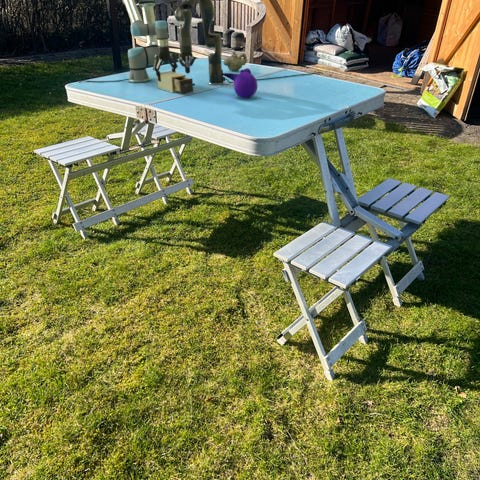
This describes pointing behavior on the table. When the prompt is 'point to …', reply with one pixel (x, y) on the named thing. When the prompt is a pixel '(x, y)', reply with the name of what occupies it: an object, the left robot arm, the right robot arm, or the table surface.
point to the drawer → (183, 84)
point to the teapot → (235, 62)
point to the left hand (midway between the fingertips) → (166, 79)
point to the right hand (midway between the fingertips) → (187, 73)
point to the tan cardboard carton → (168, 80)
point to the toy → (243, 83)
